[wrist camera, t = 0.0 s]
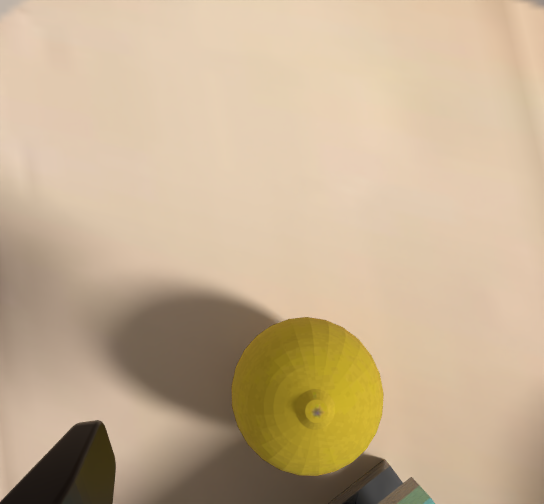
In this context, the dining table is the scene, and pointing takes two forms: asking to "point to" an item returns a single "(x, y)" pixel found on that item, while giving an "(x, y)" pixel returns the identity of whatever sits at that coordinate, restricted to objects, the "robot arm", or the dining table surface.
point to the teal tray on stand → (383, 489)
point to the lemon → (307, 396)
